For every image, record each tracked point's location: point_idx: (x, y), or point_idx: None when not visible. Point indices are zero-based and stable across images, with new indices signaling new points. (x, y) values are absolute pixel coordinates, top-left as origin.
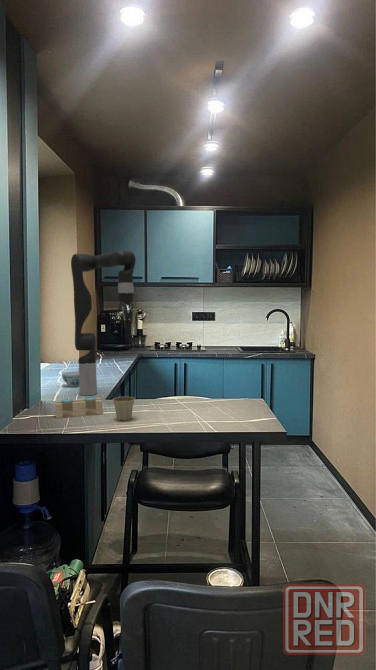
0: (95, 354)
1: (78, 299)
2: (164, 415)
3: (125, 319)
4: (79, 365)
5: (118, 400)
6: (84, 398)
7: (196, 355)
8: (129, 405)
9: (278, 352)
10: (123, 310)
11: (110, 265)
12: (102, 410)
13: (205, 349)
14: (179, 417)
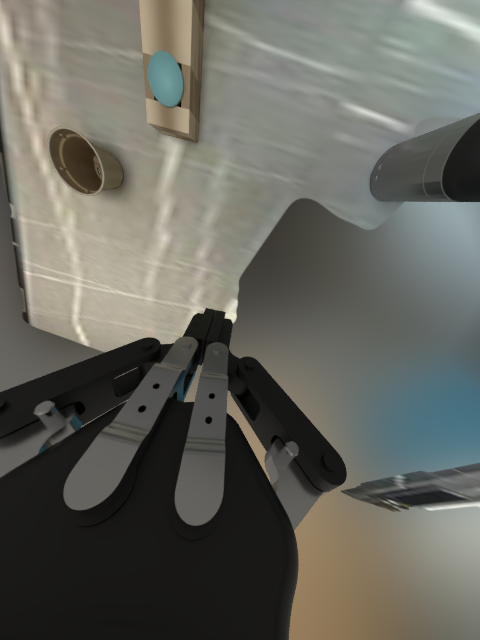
0: (476, 194)
1: None
2: (121, 251)
3: (178, 344)
4: None
5: (100, 157)
6: (167, 54)
7: None
8: (70, 173)
9: (386, 493)
10: (123, 414)
11: None
12: (159, 131)
13: None
14: (104, 265)
